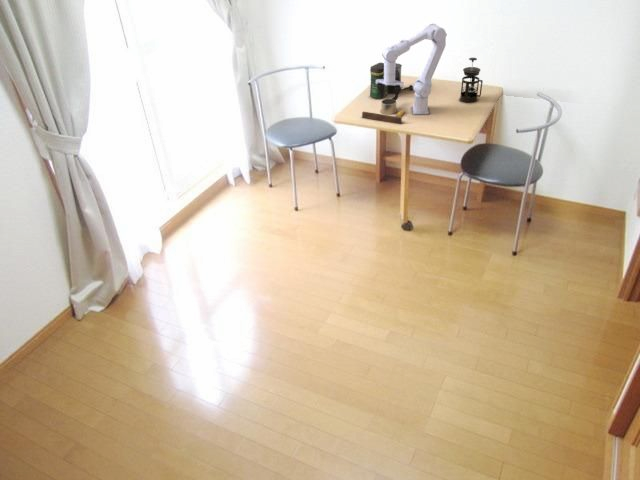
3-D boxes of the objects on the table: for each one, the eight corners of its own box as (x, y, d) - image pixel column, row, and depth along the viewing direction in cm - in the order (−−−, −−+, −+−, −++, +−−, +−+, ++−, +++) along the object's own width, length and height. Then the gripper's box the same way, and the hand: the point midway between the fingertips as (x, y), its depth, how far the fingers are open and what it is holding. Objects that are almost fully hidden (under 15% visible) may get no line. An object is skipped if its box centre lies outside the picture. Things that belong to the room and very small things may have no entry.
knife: (400, 112, 279) (400, 109, 278) (404, 112, 278) (404, 110, 277) (391, 120, 271) (392, 118, 270) (395, 121, 270) (395, 119, 269)
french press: (456, 101, 286) (460, 59, 272) (462, 95, 292) (466, 54, 278) (476, 104, 280) (481, 62, 266) (482, 98, 286) (487, 56, 272)
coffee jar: (379, 100, 294) (379, 67, 283) (367, 97, 298) (367, 65, 287) (388, 94, 300) (389, 62, 289) (377, 92, 304) (377, 60, 293)
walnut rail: (362, 117, 277) (362, 112, 275) (363, 116, 278) (363, 111, 276) (400, 124, 267) (400, 118, 265) (401, 122, 268) (401, 117, 266)
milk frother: (382, 89, 306) (382, 64, 297) (405, 84, 311) (405, 59, 302) (395, 97, 296) (395, 71, 287) (418, 91, 301) (419, 66, 292)
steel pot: (392, 115, 277) (392, 105, 273) (379, 113, 280) (379, 103, 277) (403, 104, 287) (403, 95, 284) (390, 102, 290) (390, 93, 287)
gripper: (373, 73, 261) (373, 99, 269) (400, 76, 255) (399, 103, 263) (378, 69, 265) (378, 94, 274) (405, 72, 259) (404, 98, 268)
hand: (389, 98), depth 269 cm, fingers open, 7 cm apart
